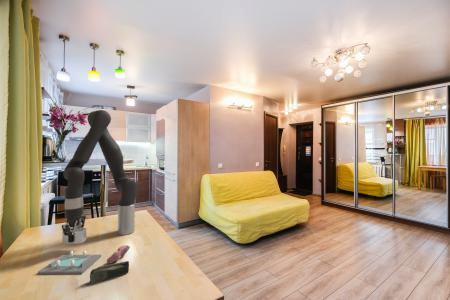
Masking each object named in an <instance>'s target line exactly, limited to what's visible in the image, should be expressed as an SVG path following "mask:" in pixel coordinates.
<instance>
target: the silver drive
mask: <svg viewBox="0 0 450 300" xmlns="http://www.w3.org/2000/svg"><path fill="white" fill-rule="evenodd" d="M70 231H71V232H72V230H70ZM61 233H62V234H61V237H62V240H61V241H62V244H63V245H66V244H82V243H84V242H85V241H87V228H86V227H83V228H76V229H75V230H74V242H72V243H69V242H68V235H64V233H63V231H62V232H61Z"/></svg>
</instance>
